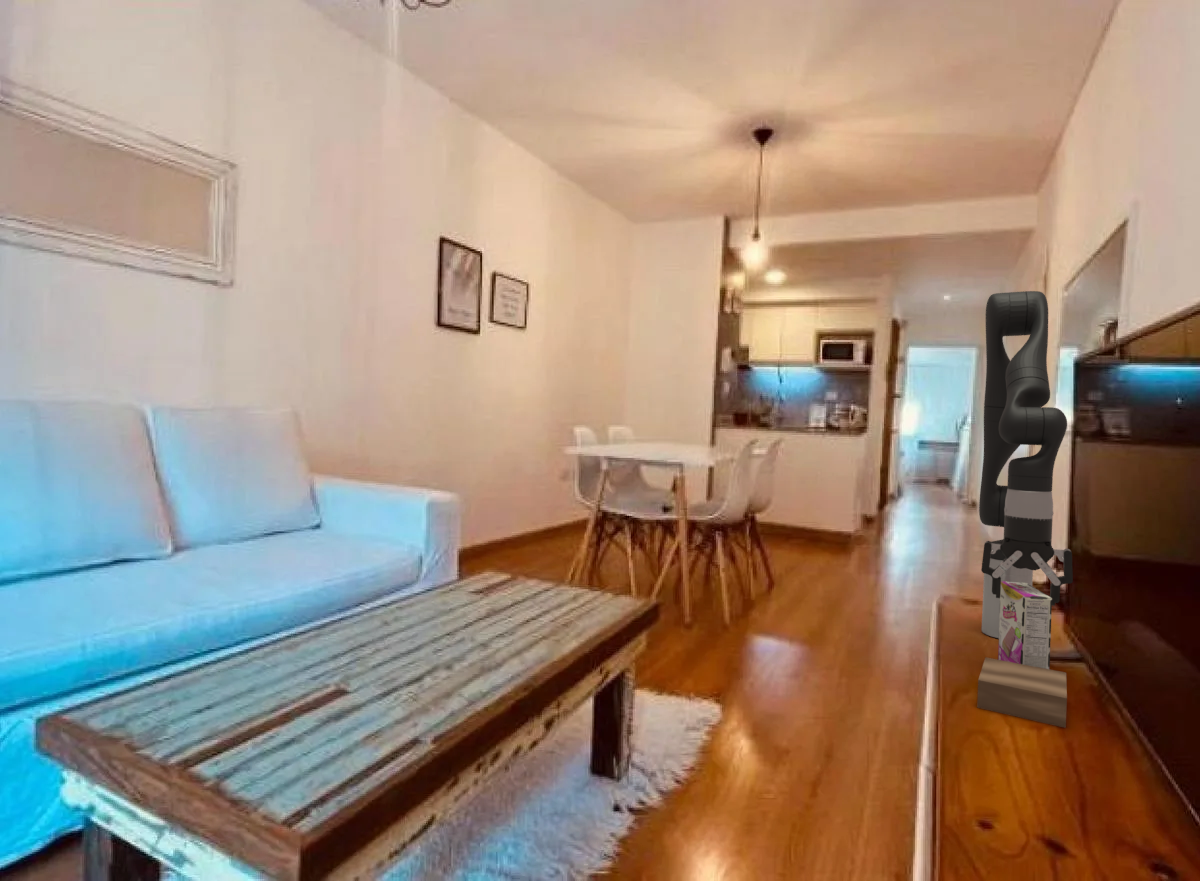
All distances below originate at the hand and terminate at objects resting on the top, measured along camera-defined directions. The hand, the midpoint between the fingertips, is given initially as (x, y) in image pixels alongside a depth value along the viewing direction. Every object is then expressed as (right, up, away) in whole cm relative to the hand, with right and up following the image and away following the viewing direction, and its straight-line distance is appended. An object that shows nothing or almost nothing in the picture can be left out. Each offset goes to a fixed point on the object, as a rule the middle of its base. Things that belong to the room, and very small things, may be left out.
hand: (1024, 601), depth 124 cm
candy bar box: (0, -14, +1) cm, 14 cm away
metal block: (-8, -15, -12) cm, 21 cm away
